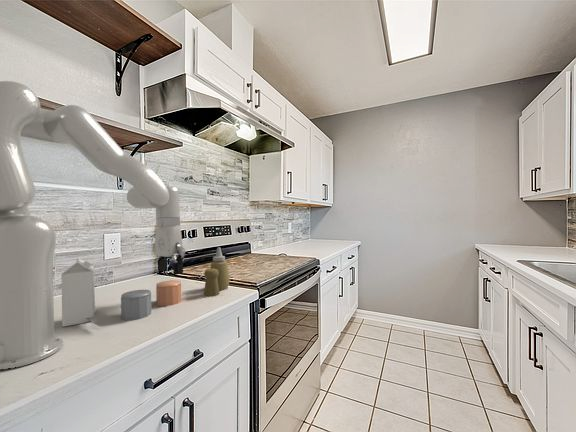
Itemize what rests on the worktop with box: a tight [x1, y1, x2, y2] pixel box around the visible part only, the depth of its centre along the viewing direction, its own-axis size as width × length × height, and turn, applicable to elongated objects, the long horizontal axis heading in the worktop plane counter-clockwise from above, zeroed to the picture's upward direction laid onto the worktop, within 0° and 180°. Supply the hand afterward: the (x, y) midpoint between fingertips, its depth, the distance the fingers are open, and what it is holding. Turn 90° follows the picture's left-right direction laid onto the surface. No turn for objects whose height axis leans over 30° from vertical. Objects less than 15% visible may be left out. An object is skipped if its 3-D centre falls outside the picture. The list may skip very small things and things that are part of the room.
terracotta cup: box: [155, 279, 182, 307], centre depth 91 cm, size 8×8×8 cm
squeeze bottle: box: [209, 246, 230, 292], centre depth 108 cm, size 8×8×18 cm
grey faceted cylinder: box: [120, 289, 152, 321], centre depth 80 cm, size 8×8×8 cm
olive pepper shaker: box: [203, 268, 220, 298], centre depth 100 cm, size 6×6×11 cm
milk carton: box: [61, 255, 96, 327], centre depth 80 cm, size 7×7×19 cm
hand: (170, 272), depth 92 cm, fingers open, 9 cm apart
